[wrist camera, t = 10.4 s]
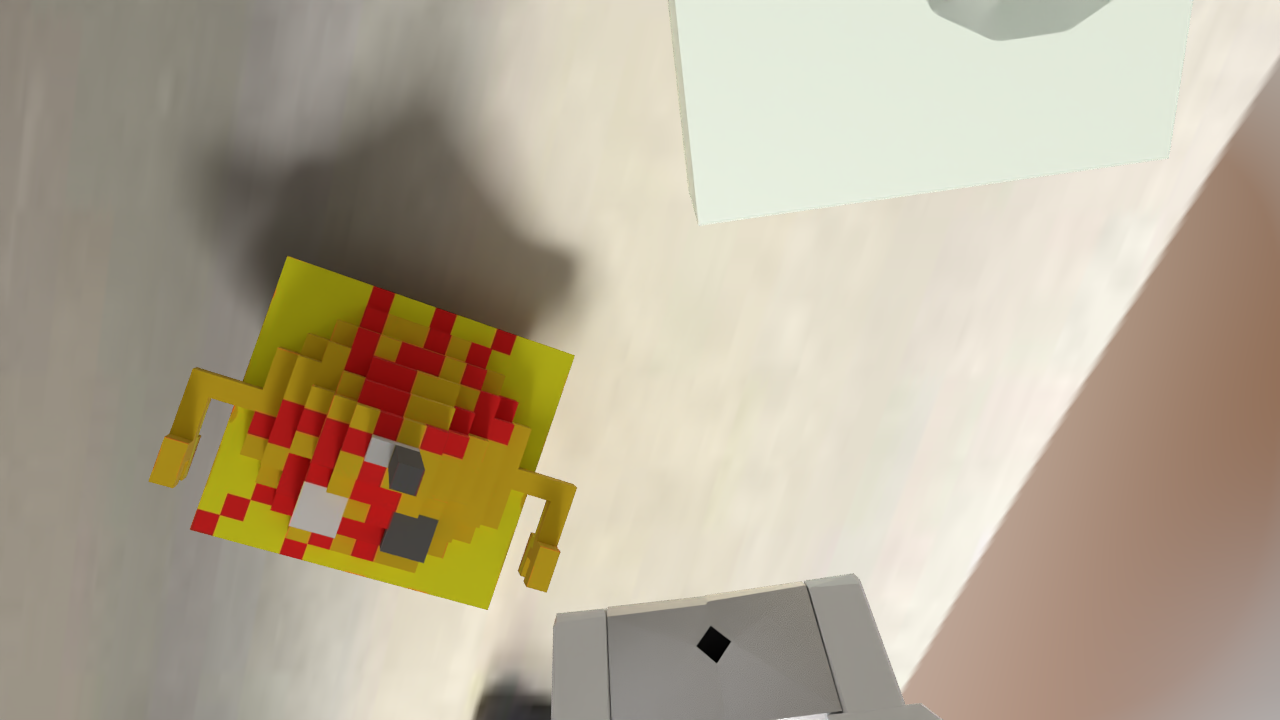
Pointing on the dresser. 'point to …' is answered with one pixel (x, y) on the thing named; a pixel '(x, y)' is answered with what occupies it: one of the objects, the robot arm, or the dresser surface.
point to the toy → (380, 440)
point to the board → (915, 95)
